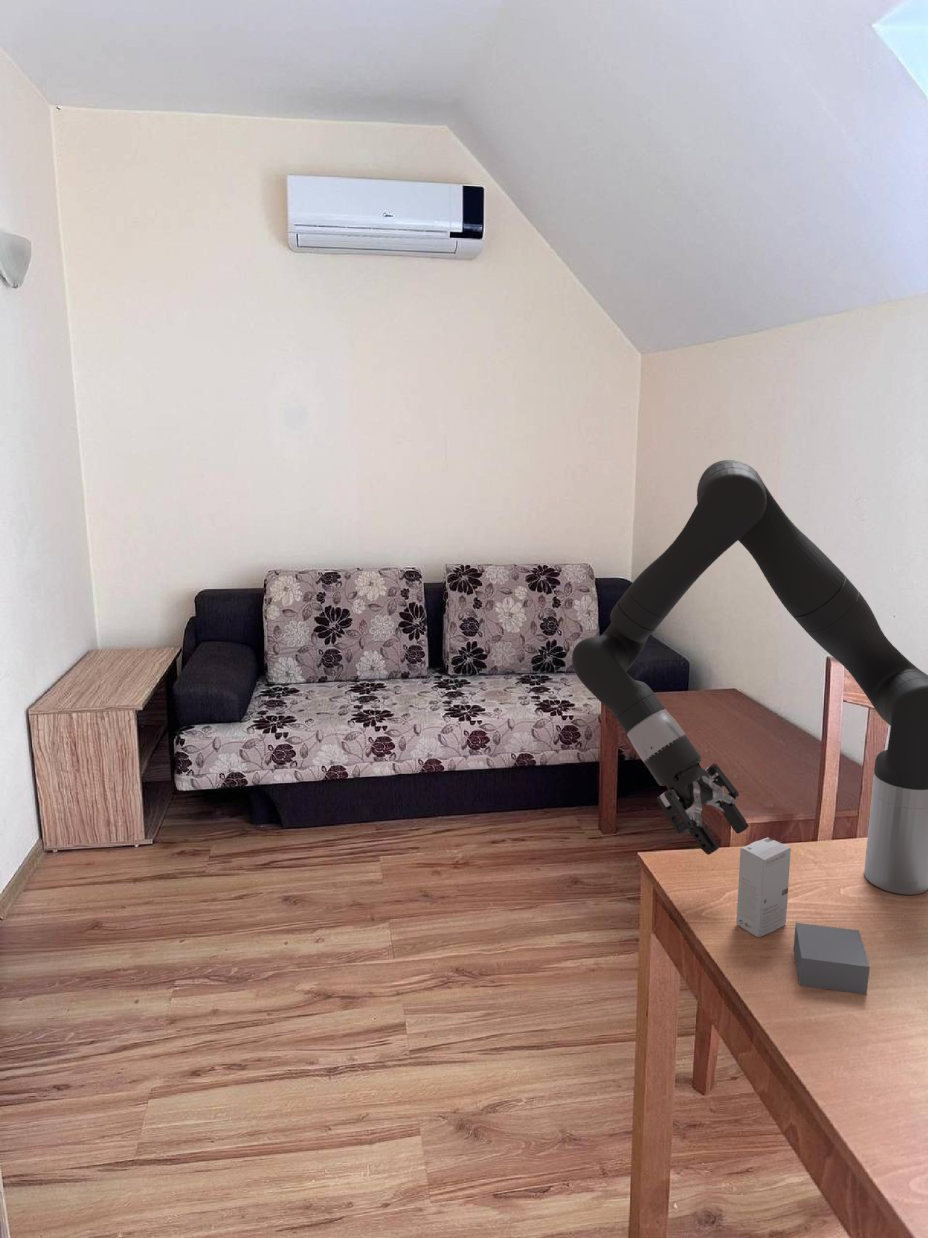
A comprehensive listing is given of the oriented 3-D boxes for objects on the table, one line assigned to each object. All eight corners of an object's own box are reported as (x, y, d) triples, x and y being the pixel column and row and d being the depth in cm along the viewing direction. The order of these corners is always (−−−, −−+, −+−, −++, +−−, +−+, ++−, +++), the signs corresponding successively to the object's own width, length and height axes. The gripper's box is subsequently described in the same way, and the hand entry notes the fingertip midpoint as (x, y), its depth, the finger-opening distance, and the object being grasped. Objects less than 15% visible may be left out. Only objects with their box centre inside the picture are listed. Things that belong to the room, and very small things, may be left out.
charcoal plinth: (793, 948, 121) (795, 922, 120) (856, 956, 119) (859, 930, 118) (799, 985, 114) (801, 958, 113) (866, 994, 112) (869, 967, 111)
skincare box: (759, 939, 123) (765, 861, 120) (733, 924, 127) (738, 847, 124) (787, 924, 126) (793, 848, 124) (762, 910, 130) (767, 835, 127)
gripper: (652, 748, 126) (721, 848, 121) (704, 721, 135) (770, 813, 130) (620, 772, 131) (685, 870, 126) (673, 745, 140) (735, 834, 135)
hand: (728, 841), depth 128 cm, fingers open, 8 cm apart
